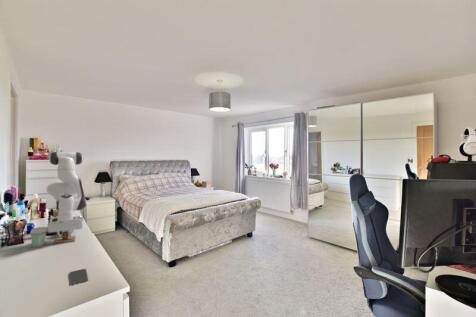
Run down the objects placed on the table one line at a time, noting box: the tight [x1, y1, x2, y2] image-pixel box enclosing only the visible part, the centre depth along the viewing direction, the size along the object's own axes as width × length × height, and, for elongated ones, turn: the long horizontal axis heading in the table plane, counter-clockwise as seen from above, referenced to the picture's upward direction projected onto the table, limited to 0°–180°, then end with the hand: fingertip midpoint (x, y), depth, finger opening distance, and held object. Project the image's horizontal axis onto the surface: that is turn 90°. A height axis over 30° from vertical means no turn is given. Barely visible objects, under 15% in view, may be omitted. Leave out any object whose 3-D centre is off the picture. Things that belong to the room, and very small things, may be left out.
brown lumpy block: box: [46, 208, 62, 236], centre depth 178 cm, size 15×15×20 cm
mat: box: [53, 235, 76, 246], centre depth 160 cm, size 14×12×1 cm
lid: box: [53, 231, 76, 245], centre depth 160 cm, size 11×11×6 cm
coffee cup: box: [29, 226, 47, 249], centre depth 149 cm, size 8×9×12 cm
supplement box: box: [61, 218, 79, 237], centre depth 175 cm, size 7×7×13 cm
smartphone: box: [68, 268, 89, 286], centre depth 110 cm, size 7×1×15 cm
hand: (65, 236), depth 160 cm, fingers open, 4 cm apart
